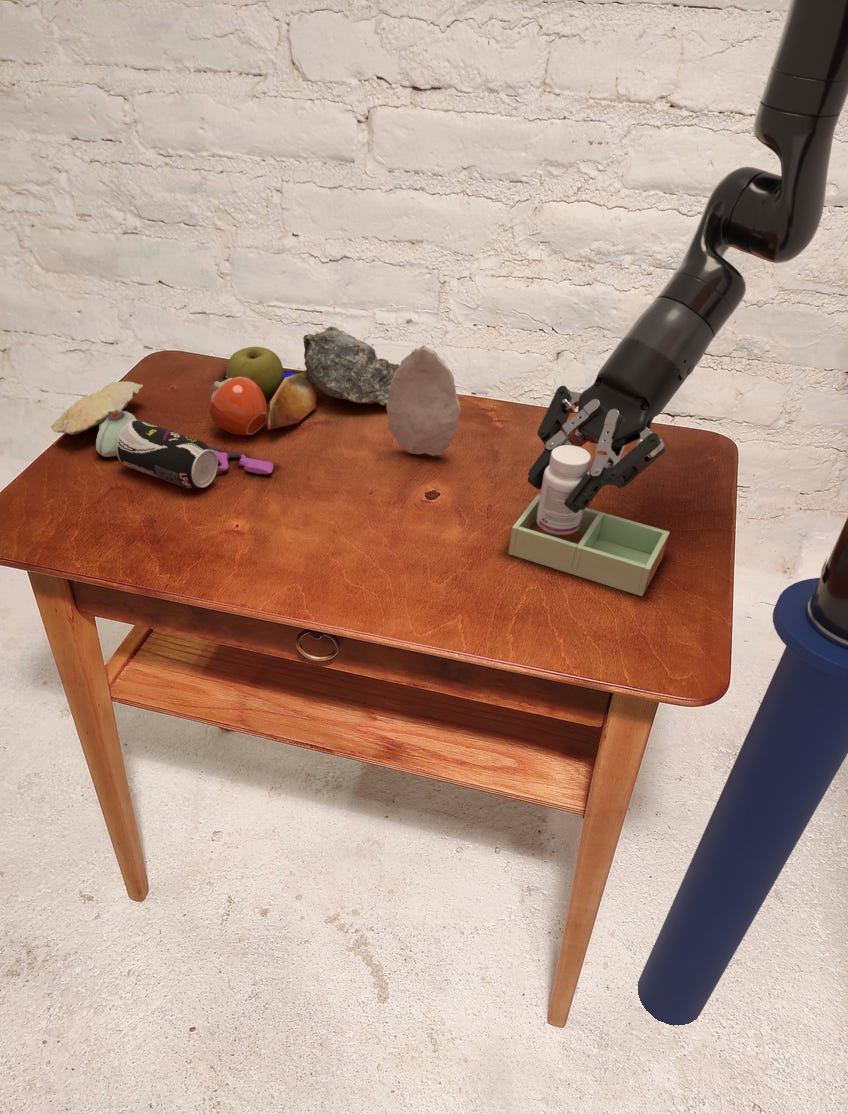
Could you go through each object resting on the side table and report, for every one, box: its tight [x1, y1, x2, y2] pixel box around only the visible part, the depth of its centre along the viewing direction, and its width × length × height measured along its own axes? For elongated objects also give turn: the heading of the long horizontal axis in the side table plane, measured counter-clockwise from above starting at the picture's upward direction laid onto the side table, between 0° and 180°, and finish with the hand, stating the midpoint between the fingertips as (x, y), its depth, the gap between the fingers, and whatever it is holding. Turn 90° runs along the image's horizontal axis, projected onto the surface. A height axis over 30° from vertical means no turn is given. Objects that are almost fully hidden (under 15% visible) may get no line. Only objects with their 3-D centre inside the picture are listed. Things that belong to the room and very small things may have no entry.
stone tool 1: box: [50, 381, 144, 436], centre depth 114 cm, size 8×4×15 cm
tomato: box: [209, 376, 268, 436], centre depth 113 cm, size 7×7×8 cm
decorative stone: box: [267, 370, 317, 431], centre depth 116 cm, size 14×6×3 cm
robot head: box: [95, 410, 137, 458], centre depth 109 cm, size 8×4×7 cm
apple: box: [225, 346, 284, 405], centre depth 118 cm, size 8×8×7 cm
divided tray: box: [507, 493, 671, 597], centre depth 94 cm, size 15×8×4 cm, turn 61°
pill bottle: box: [536, 445, 592, 535], centre depth 92 cm, size 5×5×8 cm
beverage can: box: [116, 419, 219, 490], centre depth 104 cm, size 6×6×12 cm
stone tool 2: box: [386, 344, 462, 457], centre depth 105 cm, size 9×3×15 cm, turn 80°
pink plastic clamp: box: [207, 445, 274, 475], centre depth 109 cm, size 21×1×5 cm
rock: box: [302, 326, 400, 406], centre depth 119 cm, size 14×10×10 cm
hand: (551, 496), depth 91 cm, fingers closed on pill bottle, 4 cm apart
